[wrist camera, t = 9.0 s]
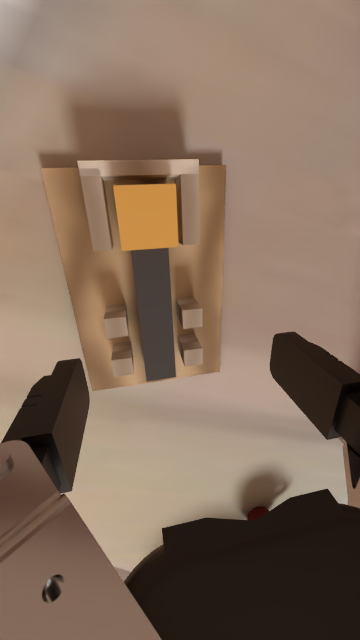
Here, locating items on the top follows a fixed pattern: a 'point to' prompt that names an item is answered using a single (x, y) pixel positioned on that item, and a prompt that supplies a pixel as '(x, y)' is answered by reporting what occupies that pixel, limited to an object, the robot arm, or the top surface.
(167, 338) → the grey and orange bar
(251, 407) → the top surface
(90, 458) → the top surface
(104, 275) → the board
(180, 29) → the top surface
